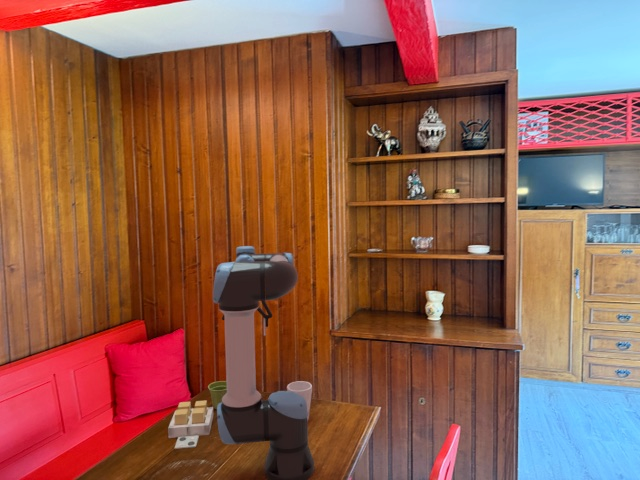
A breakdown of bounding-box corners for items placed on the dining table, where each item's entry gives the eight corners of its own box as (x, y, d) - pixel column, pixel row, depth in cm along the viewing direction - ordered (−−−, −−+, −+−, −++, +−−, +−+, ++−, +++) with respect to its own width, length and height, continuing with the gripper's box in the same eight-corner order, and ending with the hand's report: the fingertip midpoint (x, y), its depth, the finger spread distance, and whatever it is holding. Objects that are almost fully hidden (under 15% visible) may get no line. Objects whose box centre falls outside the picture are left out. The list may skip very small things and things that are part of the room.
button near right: (203, 423, 156) (203, 412, 156) (192, 424, 155) (191, 413, 155) (205, 418, 160) (204, 407, 159) (194, 418, 159) (193, 408, 159)
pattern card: (195, 447, 147) (195, 445, 146) (174, 449, 146) (174, 447, 146) (198, 436, 153) (198, 434, 153) (178, 438, 153) (178, 436, 152)
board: (209, 434, 154) (208, 425, 154) (168, 438, 153) (167, 428, 152) (213, 415, 168) (213, 406, 168) (176, 418, 166) (175, 409, 166)
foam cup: (309, 426, 159) (309, 392, 158) (285, 424, 161) (284, 390, 160) (314, 414, 169) (313, 381, 168) (291, 412, 170) (290, 380, 169)
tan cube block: (189, 416, 161) (188, 406, 161) (178, 417, 160) (177, 407, 160) (191, 411, 165) (190, 401, 165) (180, 412, 164) (179, 402, 164)
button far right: (205, 415, 162) (205, 405, 161) (194, 416, 161) (194, 405, 161) (207, 410, 166) (206, 400, 165) (196, 411, 165) (196, 401, 165)
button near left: (186, 424, 155) (186, 414, 155) (175, 425, 155) (174, 414, 154) (188, 419, 159) (188, 408, 159) (177, 420, 158) (176, 409, 158)
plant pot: (225, 399, 183) (225, 379, 182) (236, 406, 176) (236, 386, 175) (204, 405, 177) (204, 385, 176) (215, 414, 170) (214, 392, 169)
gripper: (277, 281, 181) (278, 331, 183) (216, 283, 178) (217, 334, 180) (277, 284, 174) (278, 336, 176) (214, 287, 171) (215, 340, 172)
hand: (248, 335), depth 178 cm, fingers open, 13 cm apart
